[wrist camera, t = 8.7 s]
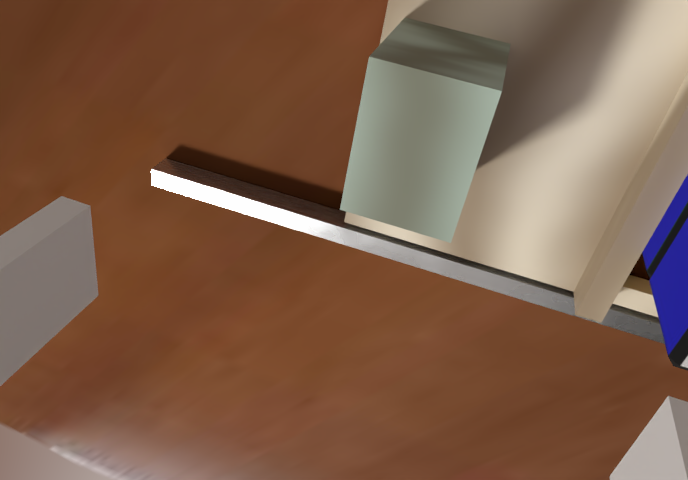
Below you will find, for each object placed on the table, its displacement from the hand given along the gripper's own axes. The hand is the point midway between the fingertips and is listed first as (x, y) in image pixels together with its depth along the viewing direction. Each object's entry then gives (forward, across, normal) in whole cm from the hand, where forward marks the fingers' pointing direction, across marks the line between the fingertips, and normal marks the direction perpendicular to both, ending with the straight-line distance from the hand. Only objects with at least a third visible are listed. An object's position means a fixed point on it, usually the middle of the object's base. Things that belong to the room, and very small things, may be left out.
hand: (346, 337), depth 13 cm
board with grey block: (+16, -9, -1) cm, 19 cm away
